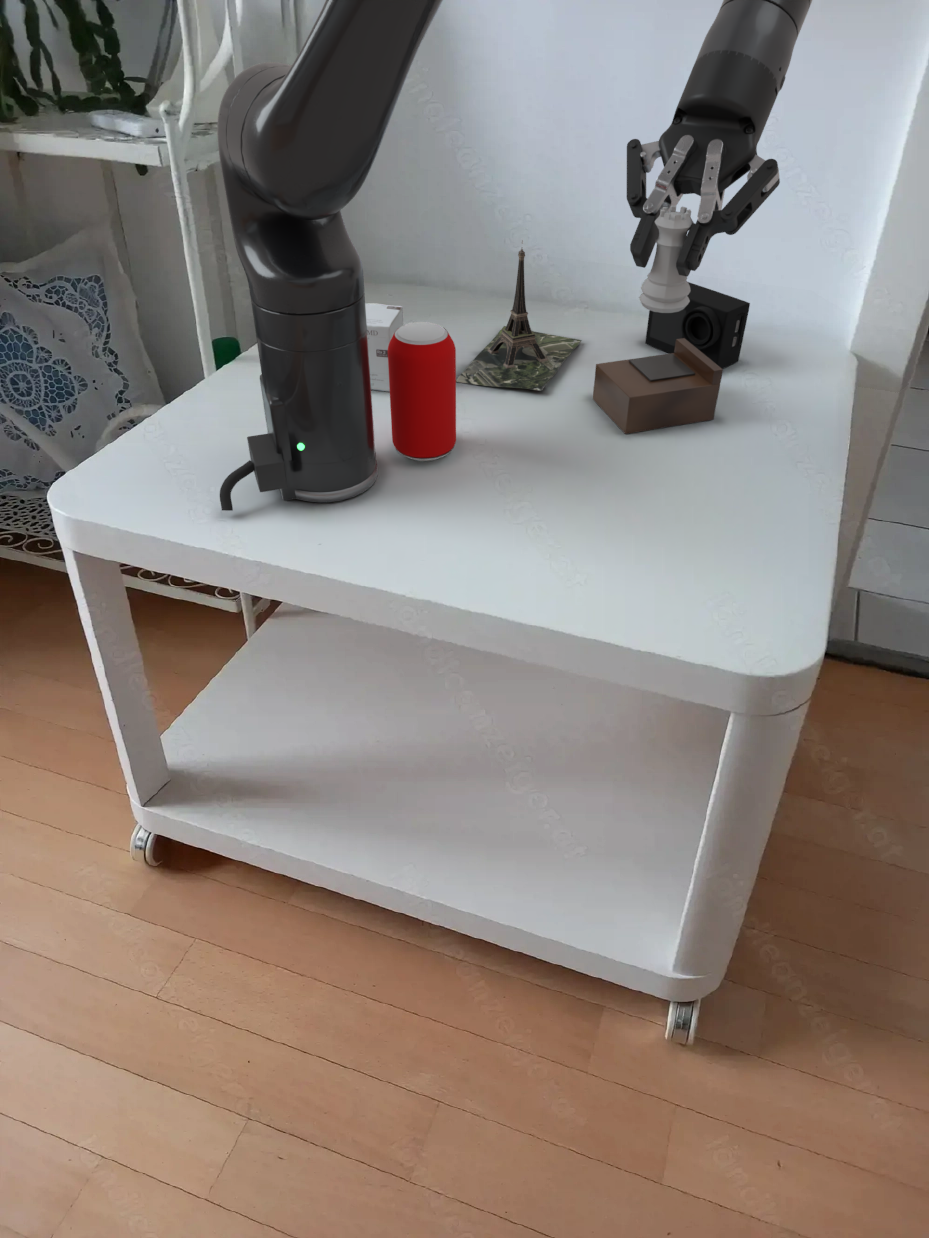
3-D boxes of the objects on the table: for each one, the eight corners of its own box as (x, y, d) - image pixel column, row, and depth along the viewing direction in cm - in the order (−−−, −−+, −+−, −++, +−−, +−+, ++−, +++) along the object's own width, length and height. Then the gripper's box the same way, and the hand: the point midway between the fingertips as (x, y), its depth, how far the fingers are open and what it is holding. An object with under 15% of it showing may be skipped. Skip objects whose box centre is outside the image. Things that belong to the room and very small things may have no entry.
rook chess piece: (688, 316, 81) (702, 220, 76) (636, 312, 82) (647, 217, 77) (689, 296, 84) (703, 203, 79) (639, 293, 85) (650, 201, 80)
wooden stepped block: (625, 434, 94) (631, 383, 90) (592, 399, 100) (597, 350, 96) (713, 419, 96) (723, 369, 93) (676, 386, 102) (684, 337, 98)
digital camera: (636, 346, 110) (644, 287, 105) (666, 334, 113) (674, 276, 108) (709, 376, 104) (720, 314, 99) (738, 362, 107) (750, 301, 102)
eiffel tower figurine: (542, 397, 100) (550, 271, 91) (454, 381, 103) (454, 258, 94) (581, 343, 111) (592, 226, 102) (501, 330, 113) (504, 215, 105)
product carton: (338, 388, 101) (332, 321, 97) (353, 364, 106) (348, 300, 101) (393, 392, 101) (390, 326, 96) (406, 368, 105) (403, 304, 100)
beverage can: (413, 473, 88) (409, 351, 80) (381, 445, 92) (374, 327, 84) (468, 455, 90) (469, 335, 83) (434, 429, 94) (431, 312, 87)
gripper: (650, 39, 79) (573, 229, 79) (817, 55, 73) (734, 260, 73) (666, 98, 86) (595, 273, 86) (821, 117, 80) (745, 304, 80)
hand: (660, 266), depth 79 cm, fingers closed on rook chess piece, 3 cm apart
